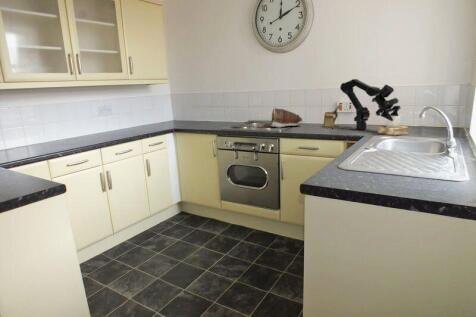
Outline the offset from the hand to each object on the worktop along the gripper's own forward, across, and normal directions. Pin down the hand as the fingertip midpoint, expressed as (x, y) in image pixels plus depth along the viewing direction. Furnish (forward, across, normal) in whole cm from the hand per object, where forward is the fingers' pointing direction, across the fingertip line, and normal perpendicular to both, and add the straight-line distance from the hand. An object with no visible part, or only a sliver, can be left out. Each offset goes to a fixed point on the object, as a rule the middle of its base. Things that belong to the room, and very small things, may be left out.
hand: (395, 120), depth 209 cm
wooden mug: (-30, -4, +44) cm, 53 cm away
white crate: (+4, 0, +6) cm, 7 cm away
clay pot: (-47, -30, +60) cm, 82 cm away
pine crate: (+5, 0, +7) cm, 9 cm away
